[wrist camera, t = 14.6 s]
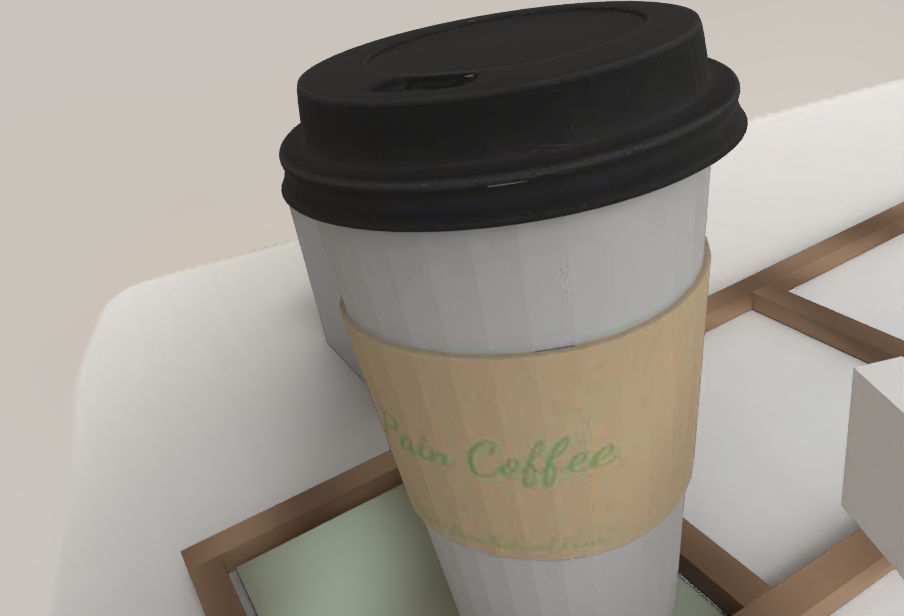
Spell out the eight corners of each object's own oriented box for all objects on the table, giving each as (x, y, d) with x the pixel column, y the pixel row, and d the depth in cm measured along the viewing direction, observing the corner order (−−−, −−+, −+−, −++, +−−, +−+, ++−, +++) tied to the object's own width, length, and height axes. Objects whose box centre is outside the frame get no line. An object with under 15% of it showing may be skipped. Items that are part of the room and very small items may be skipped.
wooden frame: (930, 203, 41) (932, 187, 40) (1271, 297, 30) (1278, 277, 30) (188, 569, 27) (180, 551, 27) (345, 963, 17) (335, 944, 16)
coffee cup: (394, 778, 19) (200, 149, 13) (406, 506, 28) (294, 42, 21) (809, 727, 19) (838, 41, 12) (693, 465, 27) (672, -24, 20)
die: (457, 287, 41) (432, 147, 37) (540, 343, 35) (520, 186, 32) (327, 341, 38) (287, 197, 35) (393, 412, 33) (354, 248, 29)
